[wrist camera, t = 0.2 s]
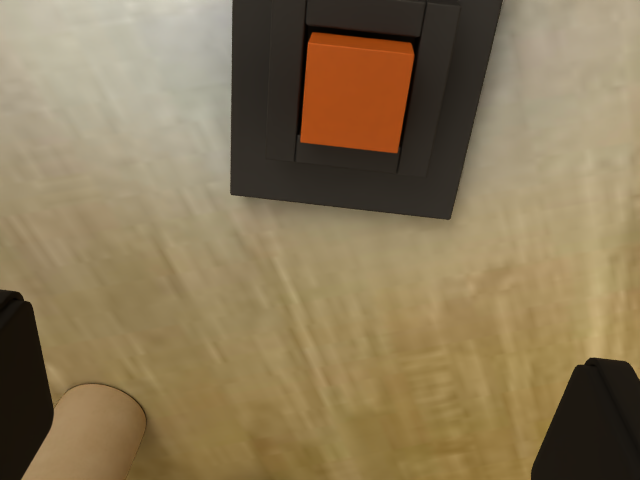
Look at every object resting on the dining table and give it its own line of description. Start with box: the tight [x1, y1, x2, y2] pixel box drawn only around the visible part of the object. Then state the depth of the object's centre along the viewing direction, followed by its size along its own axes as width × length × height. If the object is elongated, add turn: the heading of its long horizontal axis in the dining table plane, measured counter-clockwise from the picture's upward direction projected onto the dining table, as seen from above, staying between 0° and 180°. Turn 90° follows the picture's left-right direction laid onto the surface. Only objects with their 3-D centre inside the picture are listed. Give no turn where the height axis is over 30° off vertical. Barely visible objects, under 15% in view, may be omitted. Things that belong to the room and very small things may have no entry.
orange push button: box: [230, 0, 503, 220], centre depth 23 cm, size 12×10×3 cm
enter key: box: [300, 32, 415, 153], centre depth 21 cm, size 4×4×2 cm
